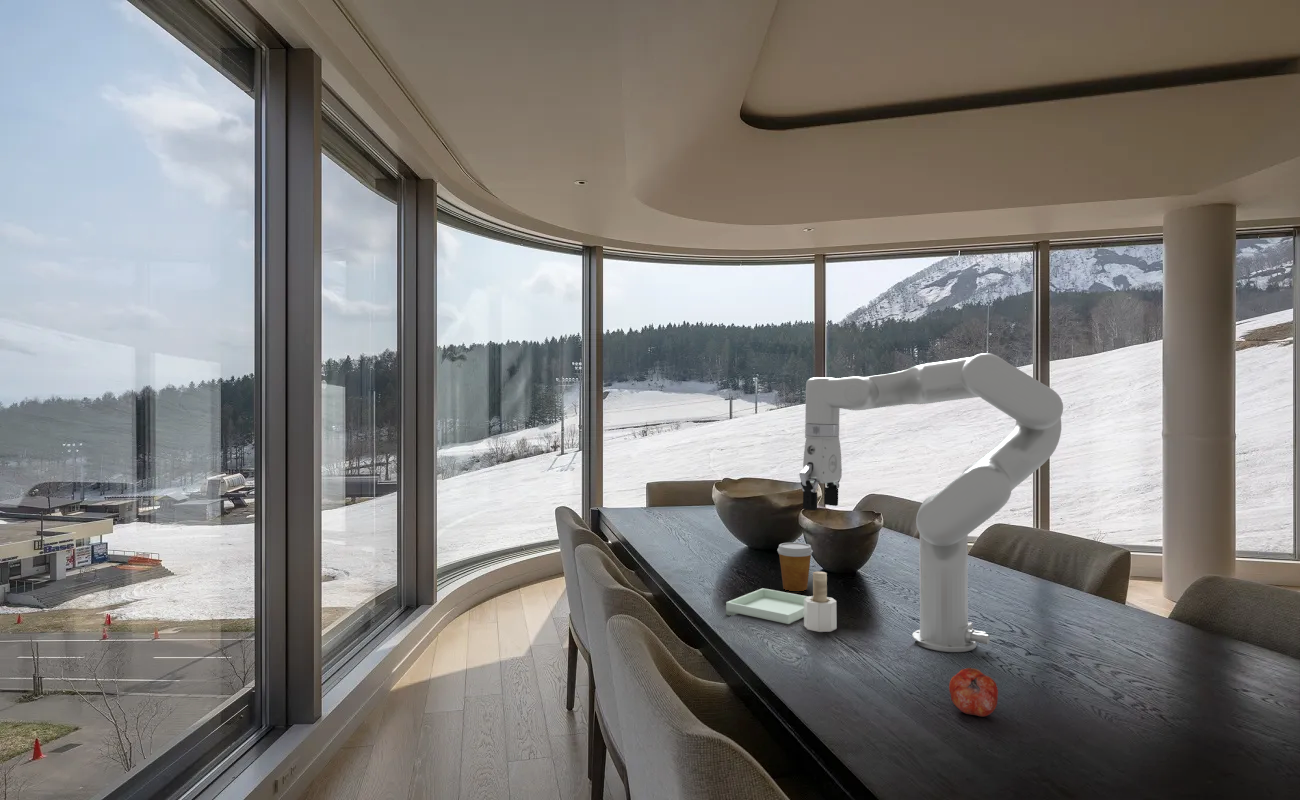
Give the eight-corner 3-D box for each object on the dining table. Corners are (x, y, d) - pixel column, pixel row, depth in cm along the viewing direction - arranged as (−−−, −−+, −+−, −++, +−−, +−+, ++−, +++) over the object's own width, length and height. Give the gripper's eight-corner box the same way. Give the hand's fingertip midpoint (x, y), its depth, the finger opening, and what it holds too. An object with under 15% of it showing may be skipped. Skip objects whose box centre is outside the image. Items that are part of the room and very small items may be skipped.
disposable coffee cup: (810, 585, 203) (810, 542, 203) (815, 594, 194) (814, 549, 194) (776, 584, 204) (775, 542, 204) (778, 593, 195) (778, 548, 195)
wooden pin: (829, 626, 163) (829, 572, 163) (823, 629, 160) (822, 575, 160) (817, 623, 165) (816, 570, 165) (810, 627, 162) (810, 573, 162)
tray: (823, 611, 178) (823, 599, 178) (788, 628, 165) (788, 615, 165) (762, 599, 189) (762, 588, 189) (726, 614, 176) (726, 602, 176)
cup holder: (840, 630, 163) (840, 599, 163) (827, 638, 158) (827, 605, 158) (813, 624, 167) (813, 594, 167) (799, 632, 162) (799, 600, 162)
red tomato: (948, 715, 124) (939, 695, 117) (959, 674, 127) (950, 653, 120) (995, 732, 119) (988, 712, 113) (1005, 689, 123) (999, 667, 116)
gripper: (818, 433, 156) (816, 513, 156) (855, 431, 168) (853, 505, 169) (787, 432, 161) (786, 509, 161) (825, 430, 173) (824, 501, 174)
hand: (820, 507), depth 165 cm, fingers open, 9 cm apart
